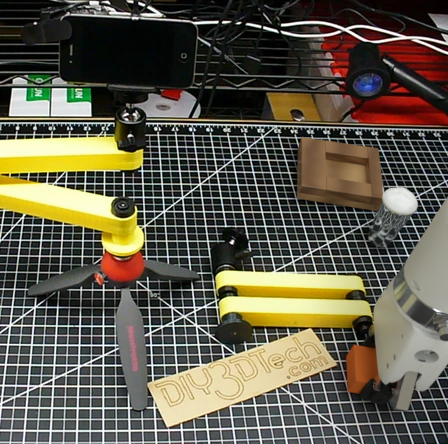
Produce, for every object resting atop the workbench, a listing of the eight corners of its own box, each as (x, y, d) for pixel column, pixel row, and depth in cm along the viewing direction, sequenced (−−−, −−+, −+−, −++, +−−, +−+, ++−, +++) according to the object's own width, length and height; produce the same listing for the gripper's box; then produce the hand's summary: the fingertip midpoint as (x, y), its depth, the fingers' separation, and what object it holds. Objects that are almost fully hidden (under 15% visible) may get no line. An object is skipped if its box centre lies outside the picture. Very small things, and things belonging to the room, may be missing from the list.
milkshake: (362, 219, 85) (387, 171, 77) (398, 235, 83) (427, 187, 76) (352, 240, 82) (377, 191, 75) (389, 256, 81) (418, 209, 73)
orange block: (392, 364, 70) (402, 352, 68) (396, 400, 67) (406, 389, 65) (346, 356, 70) (353, 344, 68) (347, 391, 67) (355, 380, 65)
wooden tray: (372, 161, 93) (378, 148, 91) (377, 211, 86) (384, 198, 84) (297, 149, 94) (301, 136, 92) (296, 198, 87) (301, 185, 85)
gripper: (496, 382, 49) (411, 455, 63) (462, 230, 60) (396, 321, 74) (406, 366, 49) (342, 442, 63) (388, 218, 60) (336, 311, 74)
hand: (371, 376), depth 68 cm, fingers closed on orange block, 4 cm apart
